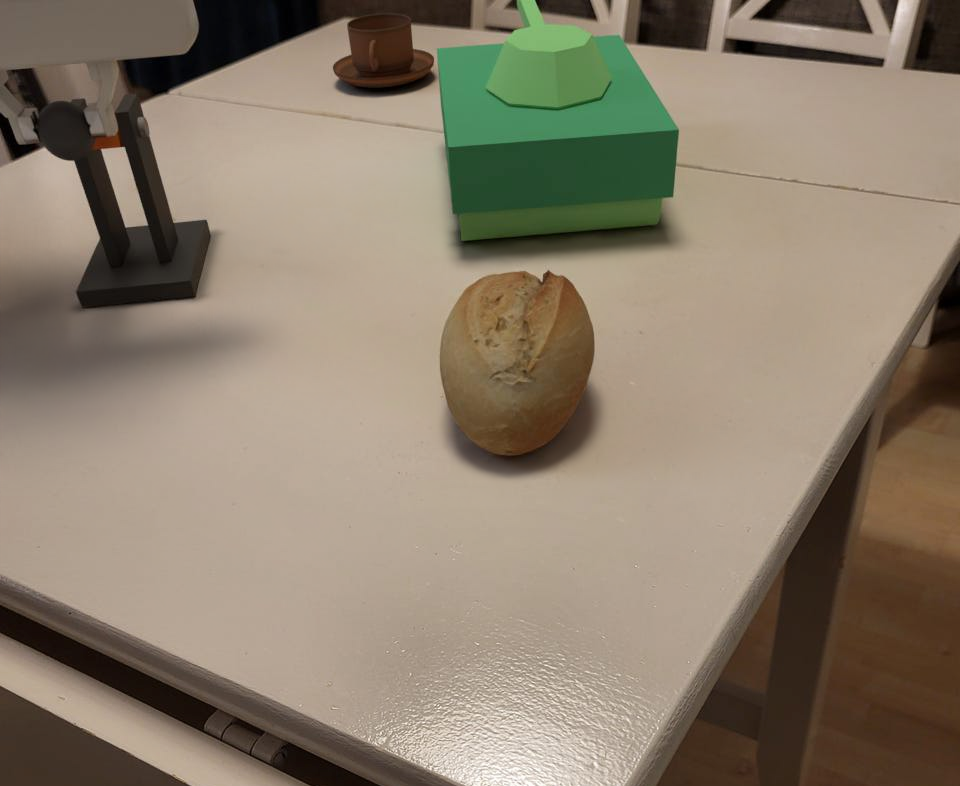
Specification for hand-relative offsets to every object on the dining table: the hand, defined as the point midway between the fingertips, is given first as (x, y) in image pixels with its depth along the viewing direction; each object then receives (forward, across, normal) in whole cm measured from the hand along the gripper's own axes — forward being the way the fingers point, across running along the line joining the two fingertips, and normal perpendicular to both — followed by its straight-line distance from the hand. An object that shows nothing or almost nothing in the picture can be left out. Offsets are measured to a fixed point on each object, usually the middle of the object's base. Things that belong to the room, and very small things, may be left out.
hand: (68, 137), depth 65 cm
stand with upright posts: (+14, 0, -10) cm, 17 cm away
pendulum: (+3, 0, -4) cm, 5 cm away
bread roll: (+14, -28, +16) cm, 35 cm away
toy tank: (+14, -35, -24) cm, 44 cm away
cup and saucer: (+14, -21, -56) cm, 62 cm away
